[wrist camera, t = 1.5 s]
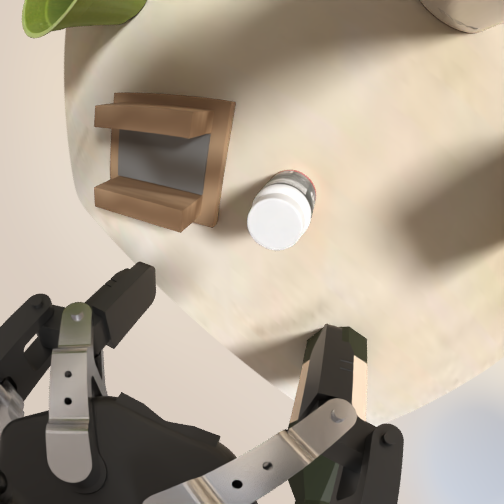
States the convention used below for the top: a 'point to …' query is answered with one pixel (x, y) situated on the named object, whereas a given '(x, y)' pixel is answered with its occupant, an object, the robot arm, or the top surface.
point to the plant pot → (75, 14)
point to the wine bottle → (320, 469)
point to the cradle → (165, 157)
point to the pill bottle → (282, 210)
